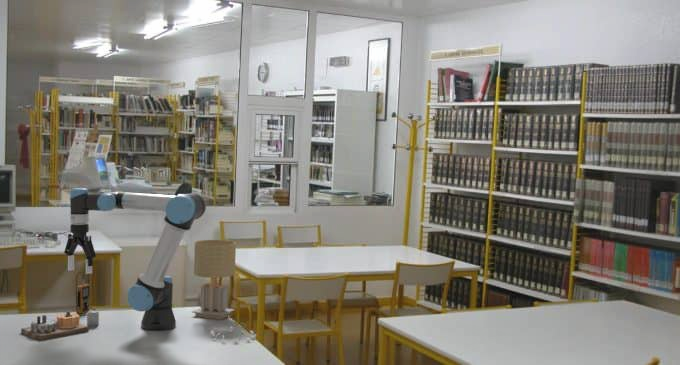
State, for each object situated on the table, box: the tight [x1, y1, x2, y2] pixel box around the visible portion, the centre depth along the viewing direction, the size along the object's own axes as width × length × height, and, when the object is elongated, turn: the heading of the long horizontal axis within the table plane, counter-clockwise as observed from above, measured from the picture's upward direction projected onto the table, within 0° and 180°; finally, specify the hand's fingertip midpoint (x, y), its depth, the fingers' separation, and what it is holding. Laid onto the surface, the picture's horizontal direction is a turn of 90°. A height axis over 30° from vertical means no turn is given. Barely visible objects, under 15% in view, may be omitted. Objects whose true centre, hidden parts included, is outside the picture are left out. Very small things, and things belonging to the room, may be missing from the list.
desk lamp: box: [191, 239, 237, 320], centre depth 361 cm, size 20×20×35 cm
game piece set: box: [209, 325, 258, 344], centre depth 322 cm, size 19×20×4 cm
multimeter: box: [75, 269, 96, 317], centre depth 358 cm, size 15×10×20 cm
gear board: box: [20, 310, 90, 341], centre depth 322 cm, size 16×22×8 cm
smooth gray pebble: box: [86, 310, 100, 327], centre depth 336 cm, size 5×5×6 cm
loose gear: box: [56, 313, 80, 328], centre depth 326 cm, size 9×9×4 cm
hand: (79, 271), depth 329 cm, fingers open, 13 cm apart
